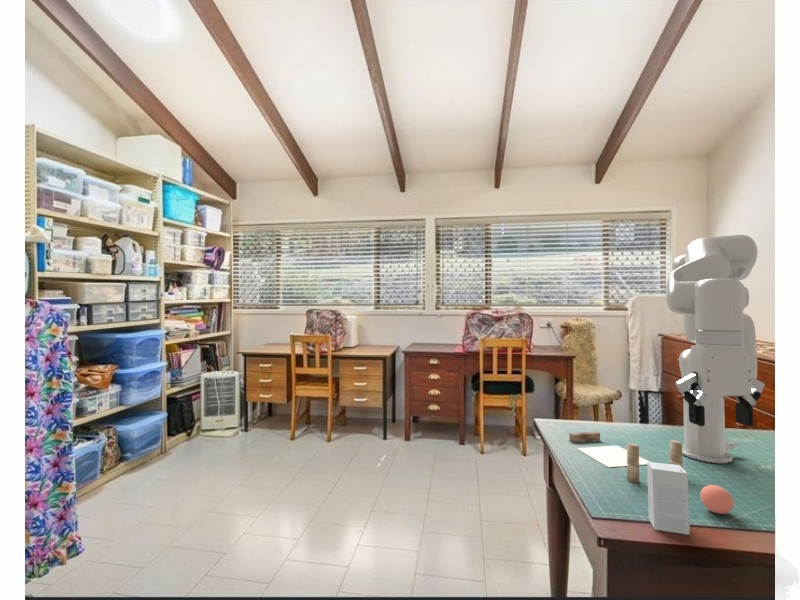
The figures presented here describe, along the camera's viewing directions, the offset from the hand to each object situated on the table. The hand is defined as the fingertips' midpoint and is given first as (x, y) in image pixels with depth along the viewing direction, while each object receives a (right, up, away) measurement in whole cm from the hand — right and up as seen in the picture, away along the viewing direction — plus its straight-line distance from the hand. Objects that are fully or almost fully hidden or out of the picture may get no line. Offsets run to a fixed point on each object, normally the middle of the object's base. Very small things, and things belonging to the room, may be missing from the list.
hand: (720, 424), depth 76 cm
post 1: (-5, -21, +20) cm, 29 cm away
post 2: (+7, -21, +22) cm, 31 cm away
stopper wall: (-4, -21, +48) cm, 53 cm away
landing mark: (-2, -21, +35) cm, 41 cm away
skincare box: (-11, -21, -1) cm, 23 cm away
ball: (+3, -18, +5) cm, 19 cm away
